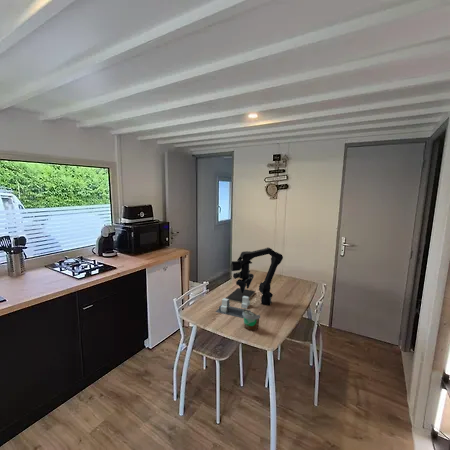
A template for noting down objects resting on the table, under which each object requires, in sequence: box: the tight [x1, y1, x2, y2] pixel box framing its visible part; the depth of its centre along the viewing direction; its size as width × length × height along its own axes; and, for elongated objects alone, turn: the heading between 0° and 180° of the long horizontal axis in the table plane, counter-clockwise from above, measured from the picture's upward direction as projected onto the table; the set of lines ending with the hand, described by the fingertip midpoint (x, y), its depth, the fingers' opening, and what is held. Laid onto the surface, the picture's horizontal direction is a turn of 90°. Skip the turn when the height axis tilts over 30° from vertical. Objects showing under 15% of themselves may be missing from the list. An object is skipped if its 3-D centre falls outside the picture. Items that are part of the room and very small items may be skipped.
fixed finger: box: [220, 297, 231, 312], centre depth 178 cm, size 5×7×8 cm
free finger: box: [240, 296, 251, 310], centre depth 184 cm, size 5×7×8 cm
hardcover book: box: [225, 287, 256, 304], centre depth 202 cm, size 16×23×2 cm
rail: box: [214, 304, 252, 319], centre depth 176 cm, size 22×12×3 cm, turn 65°
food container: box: [242, 308, 261, 332], centre depth 155 cm, size 12×6×10 cm, turn 45°
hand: (245, 290), depth 183 cm, fingers open, 9 cm apart
